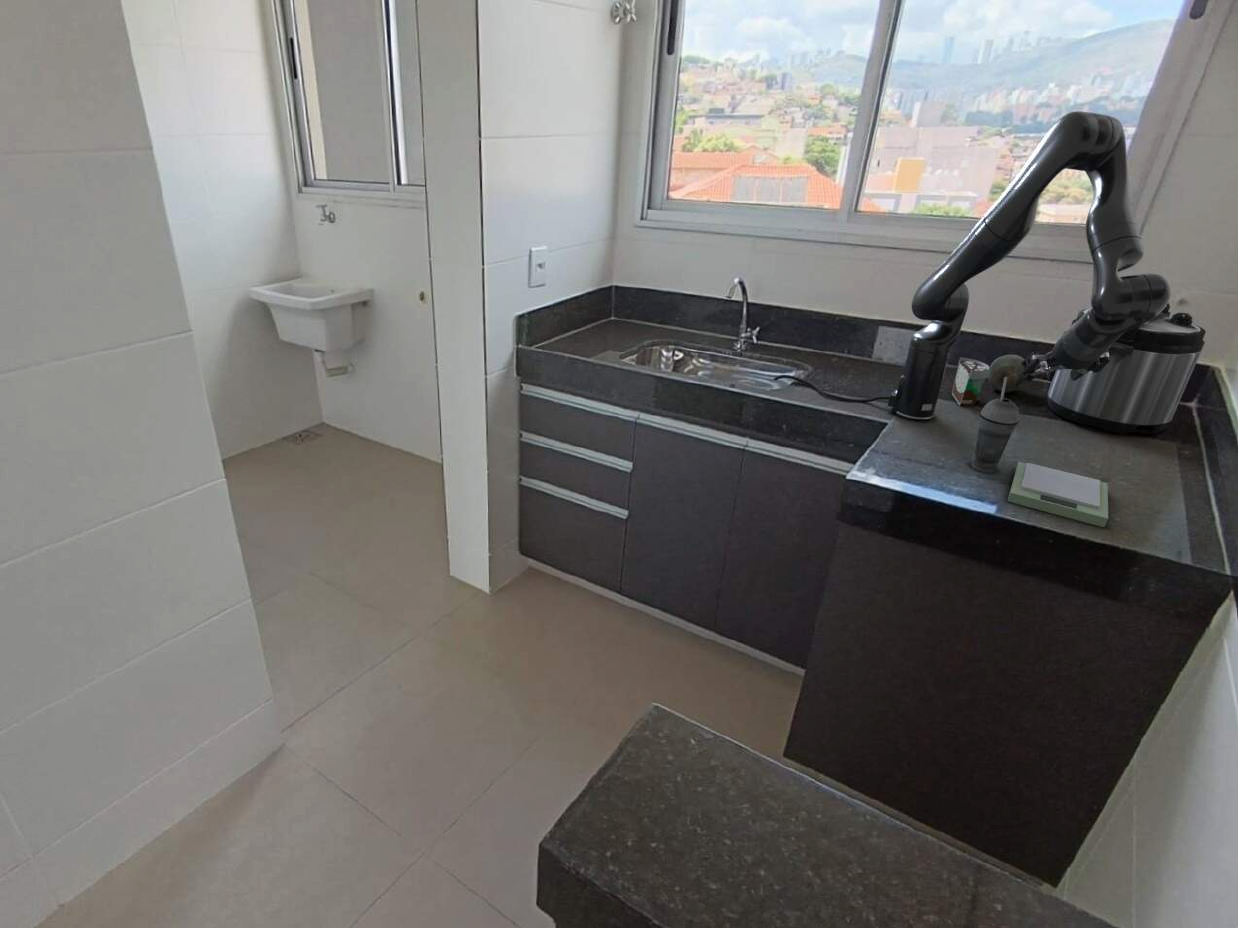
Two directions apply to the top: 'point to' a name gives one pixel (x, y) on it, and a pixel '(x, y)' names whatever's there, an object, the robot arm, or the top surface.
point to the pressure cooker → (1133, 377)
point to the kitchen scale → (1060, 493)
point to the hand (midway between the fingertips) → (1049, 377)
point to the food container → (969, 381)
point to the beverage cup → (994, 432)
